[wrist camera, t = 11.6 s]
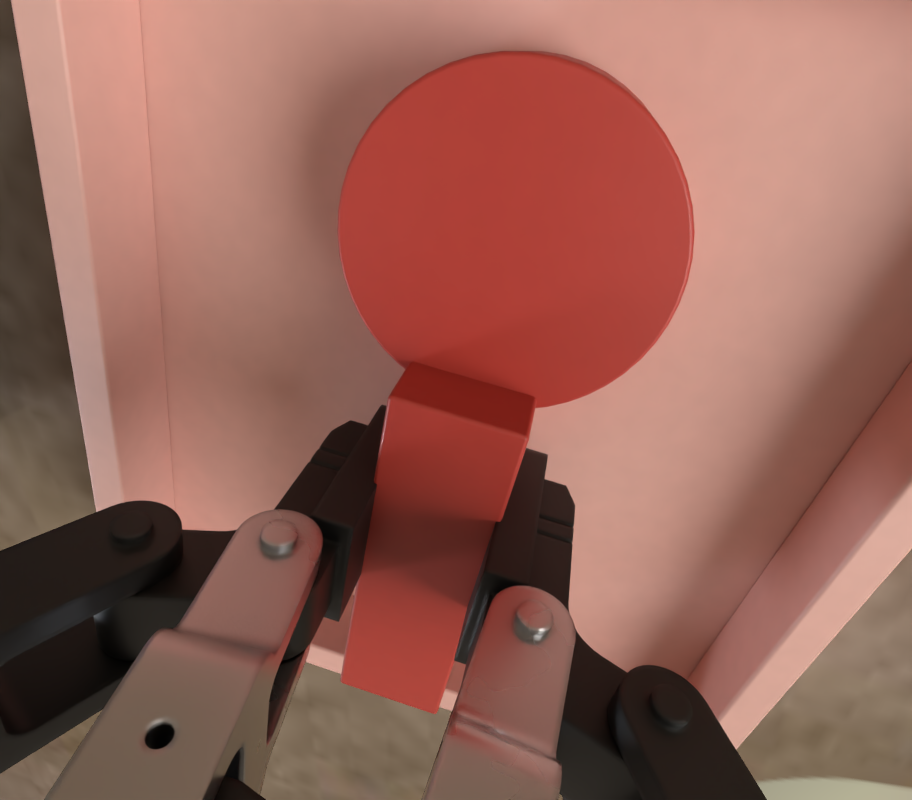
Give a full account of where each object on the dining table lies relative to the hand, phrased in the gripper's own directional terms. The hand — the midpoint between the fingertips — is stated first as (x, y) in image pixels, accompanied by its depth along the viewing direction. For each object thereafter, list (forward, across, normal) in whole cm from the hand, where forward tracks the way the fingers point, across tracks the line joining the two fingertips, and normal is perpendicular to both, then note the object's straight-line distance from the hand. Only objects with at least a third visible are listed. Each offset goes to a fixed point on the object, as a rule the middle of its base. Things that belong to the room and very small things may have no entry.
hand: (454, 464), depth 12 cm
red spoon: (+1, 0, -1) cm, 2 cm away
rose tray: (+1, 0, -2) cm, 2 cm away
